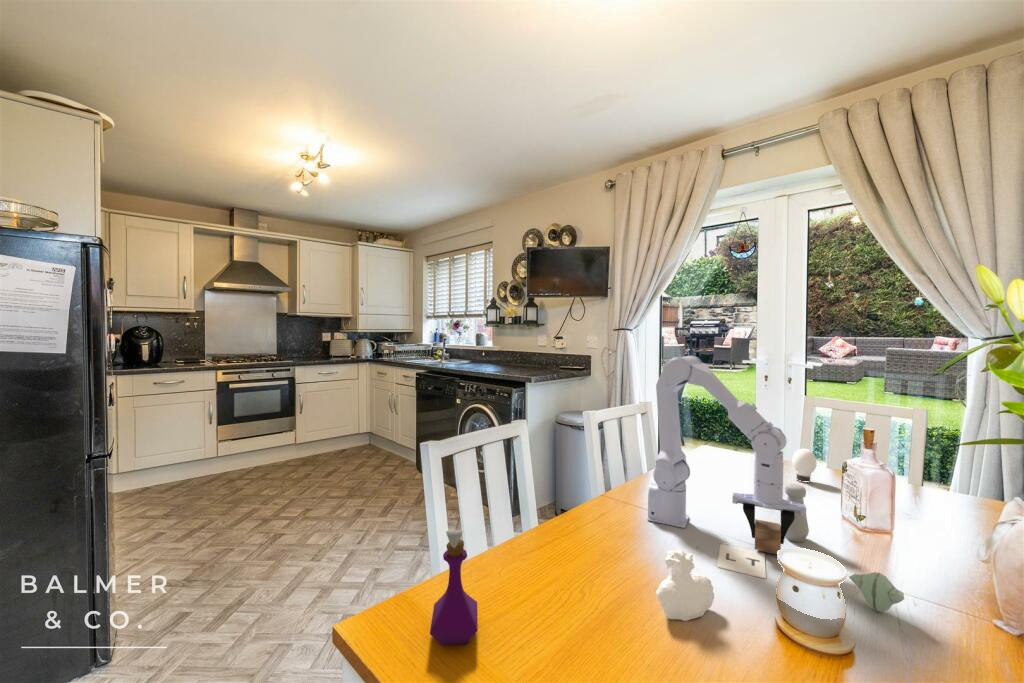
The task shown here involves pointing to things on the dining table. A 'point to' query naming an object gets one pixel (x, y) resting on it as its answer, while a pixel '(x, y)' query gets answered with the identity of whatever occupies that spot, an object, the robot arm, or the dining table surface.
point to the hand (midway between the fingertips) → (767, 539)
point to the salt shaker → (800, 524)
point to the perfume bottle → (454, 600)
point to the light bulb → (804, 464)
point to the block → (767, 536)
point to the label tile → (742, 561)
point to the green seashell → (877, 590)
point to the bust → (684, 588)
